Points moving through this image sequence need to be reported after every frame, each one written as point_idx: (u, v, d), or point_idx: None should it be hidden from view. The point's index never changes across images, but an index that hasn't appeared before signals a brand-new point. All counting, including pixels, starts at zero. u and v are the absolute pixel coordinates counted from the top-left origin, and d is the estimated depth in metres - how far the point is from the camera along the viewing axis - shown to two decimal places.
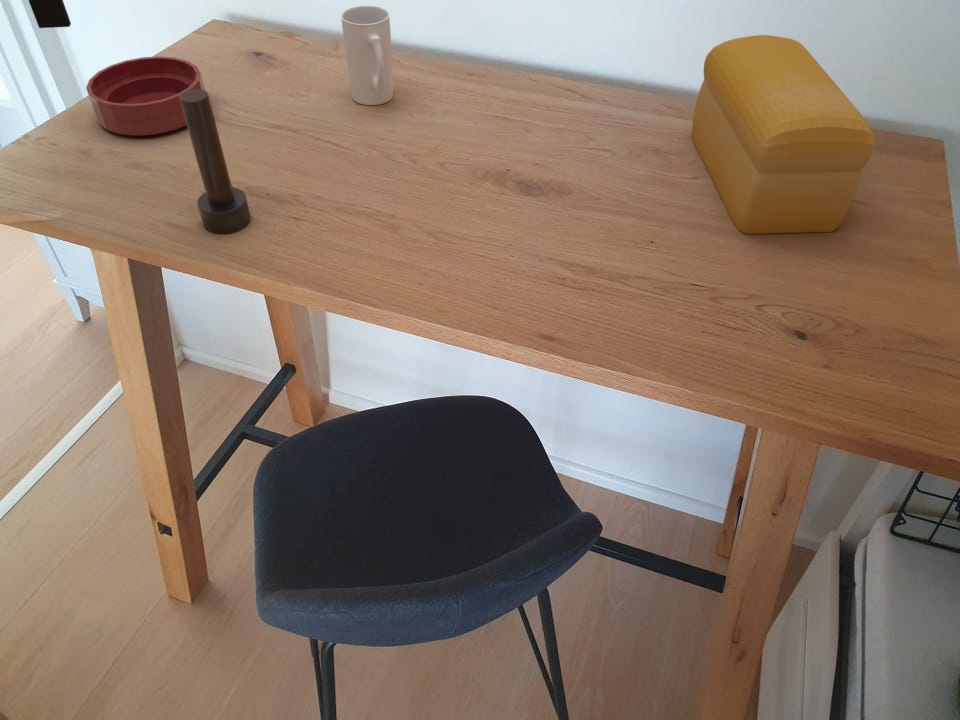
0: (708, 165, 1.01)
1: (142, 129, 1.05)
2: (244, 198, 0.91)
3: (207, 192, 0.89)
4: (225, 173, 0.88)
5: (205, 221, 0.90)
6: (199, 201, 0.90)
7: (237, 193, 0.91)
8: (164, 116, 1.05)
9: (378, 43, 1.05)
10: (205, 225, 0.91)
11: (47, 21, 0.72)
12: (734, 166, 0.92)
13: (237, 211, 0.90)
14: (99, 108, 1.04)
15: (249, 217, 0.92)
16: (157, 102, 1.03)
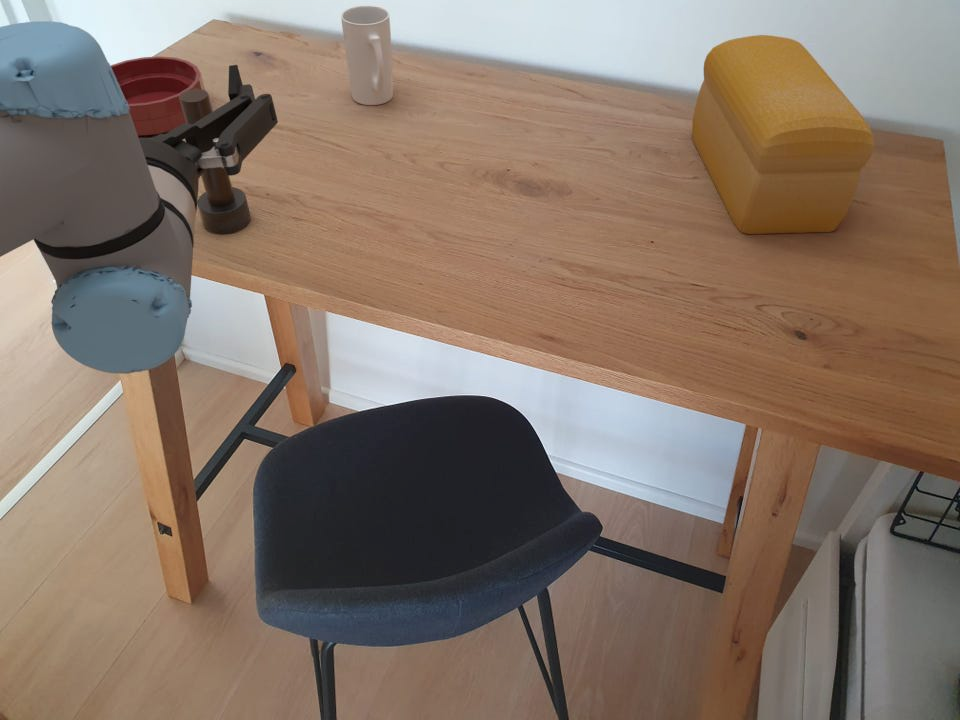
0: (708, 165, 1.01)
1: (142, 129, 1.05)
2: (244, 198, 0.91)
3: (207, 192, 0.89)
4: None
5: (205, 221, 0.90)
6: (199, 201, 0.90)
7: (237, 193, 0.91)
8: (164, 116, 1.05)
9: (378, 43, 1.05)
10: (205, 225, 0.91)
11: None
12: (734, 166, 0.92)
13: (237, 211, 0.90)
14: None
15: (249, 217, 0.92)
16: (157, 102, 1.03)
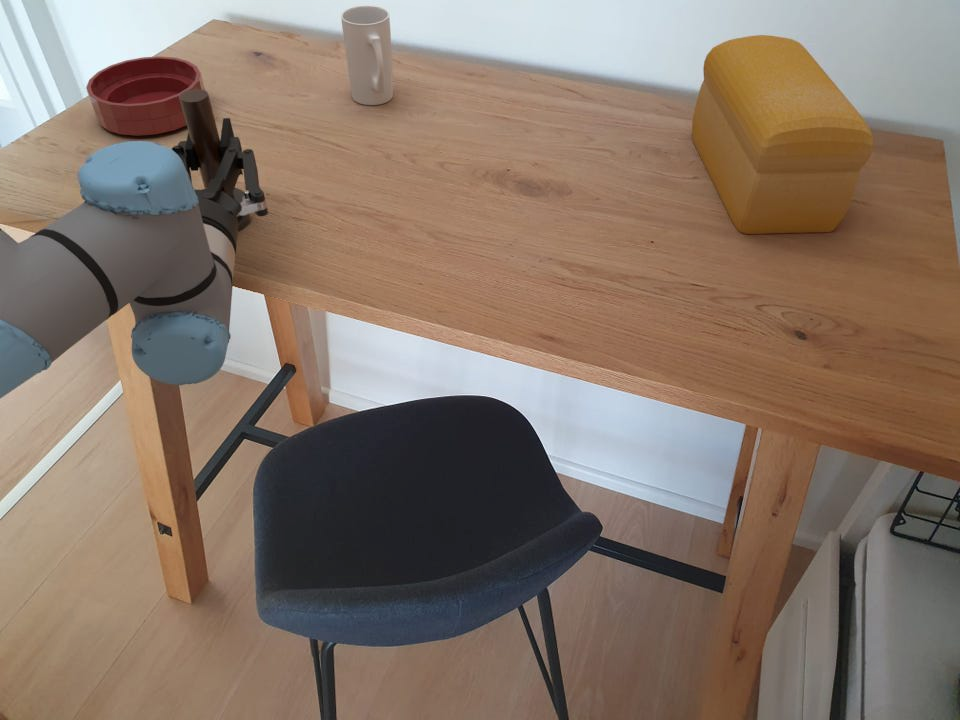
0: (707, 165, 1.01)
1: (142, 129, 1.05)
2: None
3: None
4: None
5: None
6: None
7: (237, 193, 0.91)
8: (164, 116, 1.05)
9: (378, 43, 1.05)
10: None
11: None
12: (733, 166, 0.92)
13: None
14: (99, 108, 1.04)
15: (249, 217, 0.92)
16: (157, 102, 1.03)
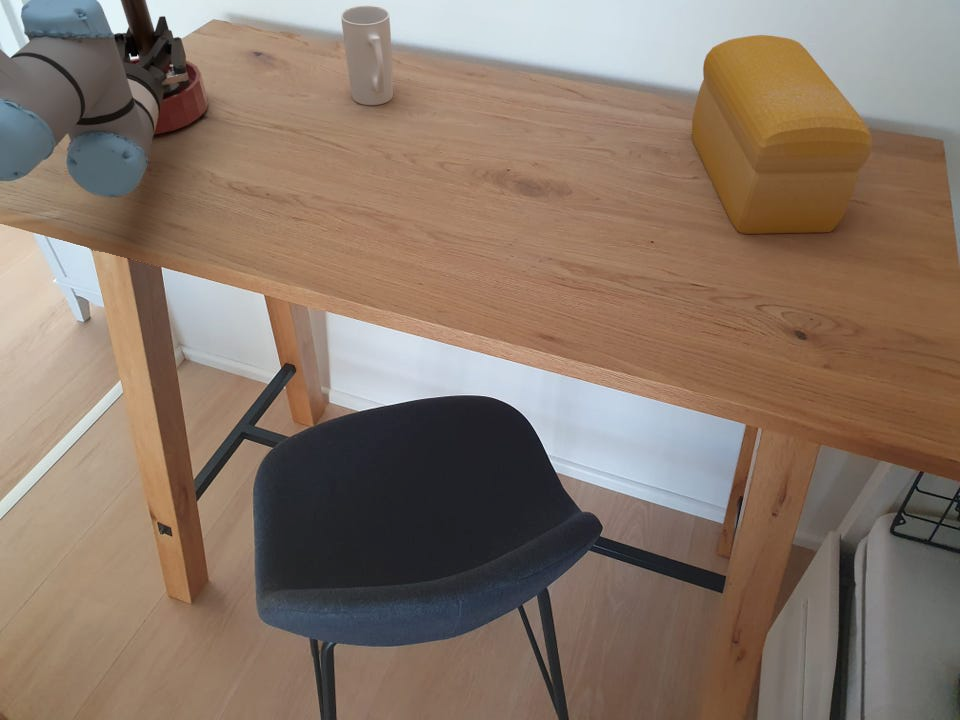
0: (707, 165, 1.01)
1: None
2: (178, 84, 1.09)
3: None
4: None
5: None
6: None
7: None
8: (164, 116, 1.05)
9: (378, 43, 1.05)
10: None
11: None
12: (732, 166, 0.92)
13: (171, 93, 1.08)
14: None
15: None
16: None
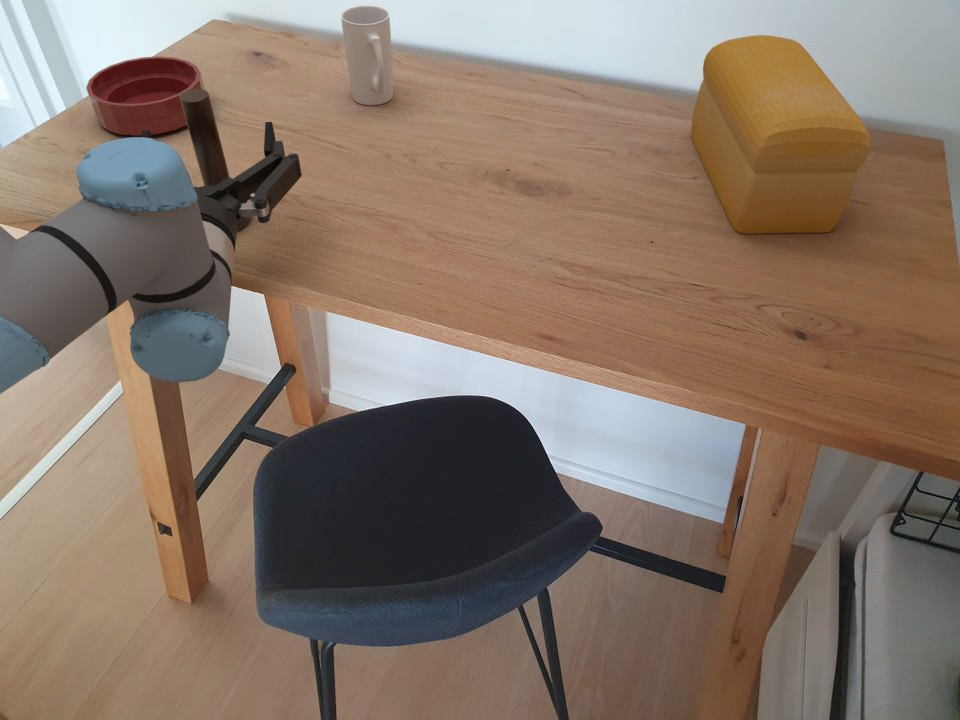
0: (706, 165, 1.01)
1: (142, 129, 1.05)
2: None
3: None
4: (225, 173, 0.88)
5: None
6: None
7: None
8: (164, 116, 1.05)
9: (378, 43, 1.05)
10: None
11: None
12: (730, 165, 0.92)
13: None
14: (99, 108, 1.04)
15: (249, 217, 0.92)
16: (157, 102, 1.03)
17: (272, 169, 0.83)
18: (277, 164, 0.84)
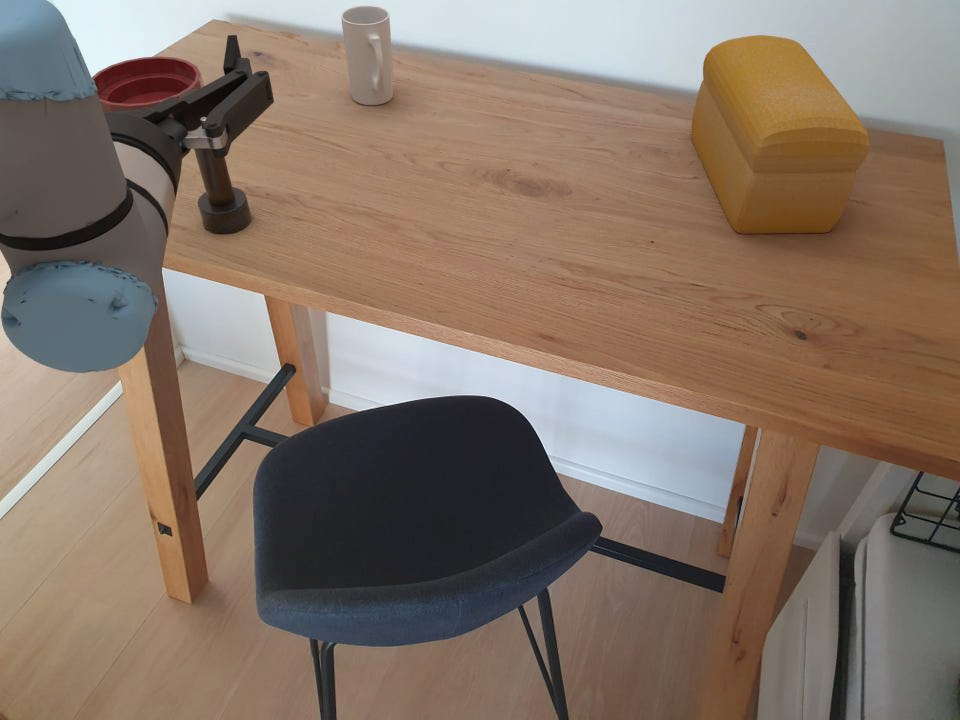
0: (705, 165, 1.01)
1: None
2: (244, 198, 0.91)
3: (207, 192, 0.89)
4: (225, 173, 0.88)
5: (205, 221, 0.90)
6: (200, 201, 0.90)
7: (237, 193, 0.91)
8: None
9: (378, 43, 1.05)
10: (205, 225, 0.91)
11: None
12: (730, 165, 0.92)
13: (237, 211, 0.90)
14: None
15: (249, 217, 0.92)
16: (157, 102, 1.03)
17: (234, 91, 0.62)
18: (241, 85, 0.63)
